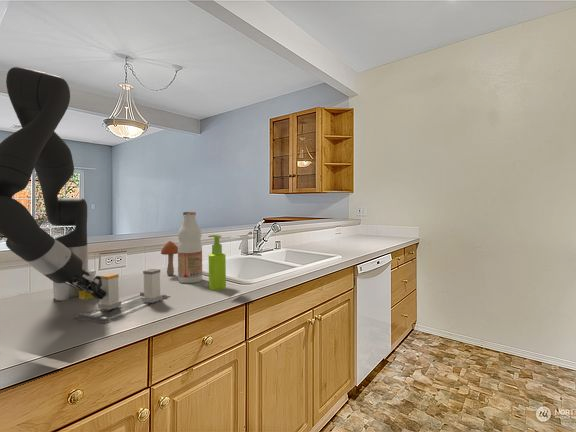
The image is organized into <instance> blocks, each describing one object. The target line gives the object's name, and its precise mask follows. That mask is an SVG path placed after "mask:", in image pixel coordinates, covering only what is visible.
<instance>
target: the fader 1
mask: <svg viewBox="0 0 576 432" xmlns="http://www.w3.org/2000/svg"><path fill="white" fill-rule="evenodd" d="M98 276H99V277H101V281H102V286H101V287H100V288H101V289H102V290H104V291H105V292H106V295H105V296H104V298H103V299H100V303H98V307H97V308H98V309H107V310H110V309H113V308H115V307H118V306H121V300H119V299H120V297H119V296H120V294H119V274H118V273H105V274H102V275H101V274H100V275H98Z"/></svg>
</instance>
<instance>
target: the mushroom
mask: <svg viewBox="0 0 576 432" xmlns="http://www.w3.org/2000/svg"><path fill="white" fill-rule="evenodd" d="M160 254H161V255H164V256H166V255H167V260H168V261H167V268H166V274H167V276H173V275H174V273H175V268H174V255H178V245H176V244H175V243H174V242H172V241H171V240H169V241H167V242H166V243H165V244H164V246H163V247H162V248H161V251H160Z"/></svg>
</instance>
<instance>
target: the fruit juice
mask: <svg viewBox="0 0 576 432" xmlns="http://www.w3.org/2000/svg"><path fill="white" fill-rule="evenodd" d="M196 214H197V212H196V211H183V212H182V216H183V219H182V223H181V226H180V228H179V229H178V231H177V237H178V241H179V242H178V244H177V247H178V253H177V273H178V274H177V278H178V282H179V283H180V284H194V283H199V282H202V281H203V245H202V242H201V238H202V230H201V228H200V227H199V225H198V223H197V219H196Z"/></svg>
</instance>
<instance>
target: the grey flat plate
mask: <svg viewBox="0 0 576 432" xmlns="http://www.w3.org/2000/svg"><path fill="white" fill-rule="evenodd" d="M160 295H162V299H161V300H158V301H156V302H153V303H151V302H144V301H142V297H144V291H141V292H139V294H138V295H136V296H134V297H133V296H132V297H131V298H127V299H124V300H122V301H121V300H120V301H121V306H118V307H115V308H113V309H110V310H107V309H100V308H98V309H96V310H94V311H91V312H87V313H76V317H74V318H73V319H74V320H79V321H85V322H90V323H91V322H92V323H97V324H101V325H102V324H103V325H104V324H105V325H106V324H108V323H111V322H113V321H115V320H118V319H120V318H123V317H125V316H128V315H130V314H133V313H135V312H137V311H140V310H142V309H145V308H147V307H150V306H152V305H154V304H156V303H159V302H162V301H164V300H166V299H169V298H171V297H172V296H171V295H167V294H166V293H165V294H163V293H160Z"/></svg>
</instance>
